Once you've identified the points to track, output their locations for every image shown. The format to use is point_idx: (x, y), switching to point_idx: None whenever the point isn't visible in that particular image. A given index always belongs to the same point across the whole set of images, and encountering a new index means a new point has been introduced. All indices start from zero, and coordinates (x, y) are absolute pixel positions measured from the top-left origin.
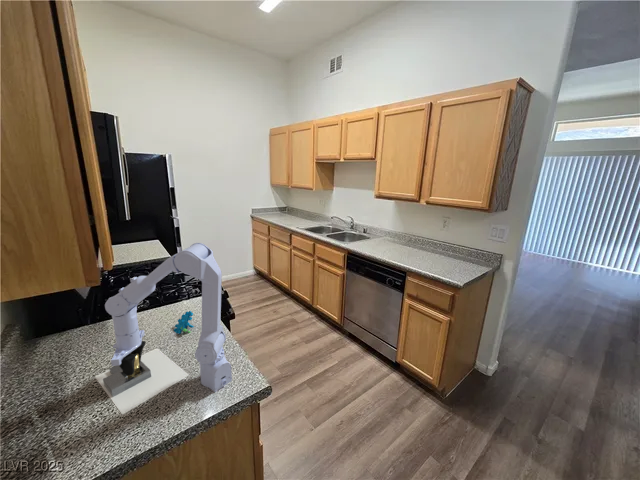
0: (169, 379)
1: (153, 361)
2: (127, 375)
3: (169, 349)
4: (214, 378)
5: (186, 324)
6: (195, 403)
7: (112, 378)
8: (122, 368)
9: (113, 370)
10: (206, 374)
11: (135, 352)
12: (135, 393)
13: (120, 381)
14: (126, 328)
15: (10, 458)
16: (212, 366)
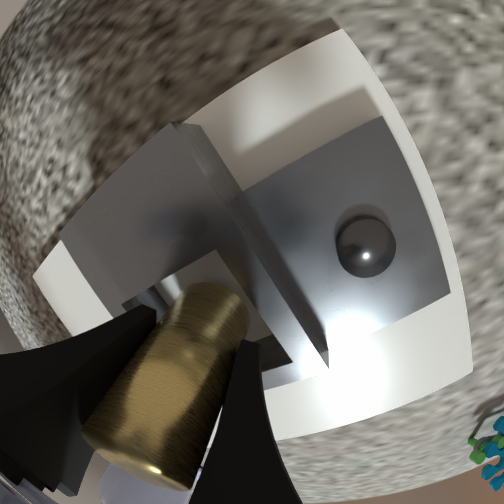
0: None
1: (352, 379)
2: (176, 300)
3: (433, 403)
4: (101, 479)
5: (486, 472)
6: None
7: (149, 205)
8: (82, 341)
9: (335, 158)
10: (117, 480)
11: (187, 489)
12: (104, 313)
13: (113, 269)
14: None
15: (13, 24)
16: (105, 502)
